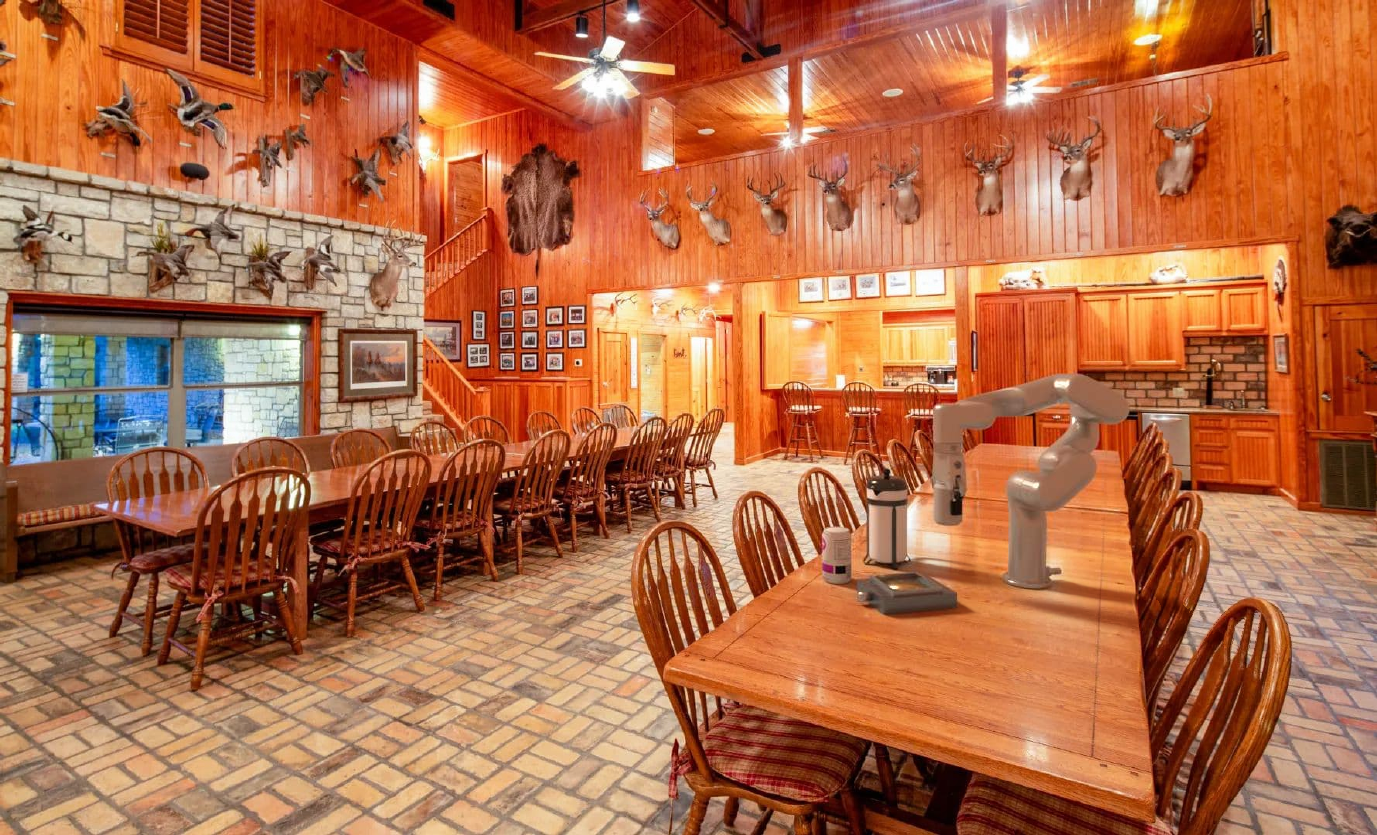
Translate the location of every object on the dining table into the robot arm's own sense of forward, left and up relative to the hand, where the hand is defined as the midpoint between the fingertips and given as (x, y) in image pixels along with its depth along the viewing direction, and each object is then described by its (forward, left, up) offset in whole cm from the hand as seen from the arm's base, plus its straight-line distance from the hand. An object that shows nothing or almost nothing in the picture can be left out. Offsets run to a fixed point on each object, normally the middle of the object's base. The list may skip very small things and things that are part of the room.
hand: (948, 511), depth 186 cm
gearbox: (+18, +7, -21) cm, 29 cm away
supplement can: (+27, -13, -22) cm, 37 cm away
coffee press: (+5, -26, -22) cm, 34 cm away
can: (0, 0, -4) cm, 4 cm away
